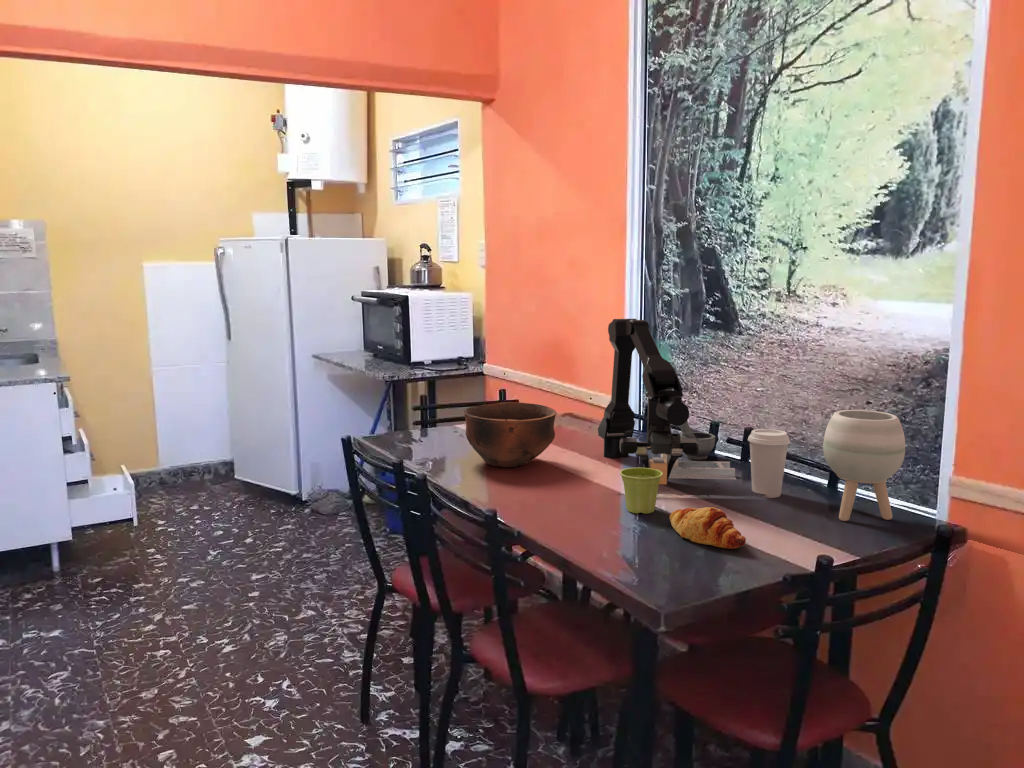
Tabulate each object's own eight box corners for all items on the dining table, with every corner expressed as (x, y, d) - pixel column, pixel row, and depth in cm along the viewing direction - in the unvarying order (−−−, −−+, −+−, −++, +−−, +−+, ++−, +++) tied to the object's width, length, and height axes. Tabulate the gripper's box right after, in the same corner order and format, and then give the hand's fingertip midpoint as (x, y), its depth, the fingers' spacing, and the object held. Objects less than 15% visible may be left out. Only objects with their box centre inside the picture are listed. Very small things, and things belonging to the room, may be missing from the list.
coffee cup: (792, 492, 194) (795, 431, 192) (780, 502, 187) (783, 438, 184) (752, 486, 200) (755, 426, 197) (739, 495, 192) (742, 433, 190)
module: (650, 487, 199) (650, 460, 198) (648, 482, 203) (649, 456, 202) (666, 487, 199) (667, 461, 198) (664, 483, 203) (665, 457, 202)
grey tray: (647, 480, 205) (648, 469, 204) (643, 468, 217) (643, 458, 216) (736, 482, 203) (736, 471, 203) (727, 470, 215) (727, 459, 215)
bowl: (498, 480, 205) (498, 422, 203) (447, 461, 225) (446, 407, 223) (574, 466, 220) (574, 411, 217) (519, 449, 239) (519, 398, 237)
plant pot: (610, 509, 181) (610, 471, 180) (638, 501, 187) (639, 465, 186) (642, 519, 174) (643, 480, 173) (670, 511, 180) (671, 473, 179)
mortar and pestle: (700, 454, 233) (702, 413, 231) (721, 461, 224) (723, 419, 223) (667, 457, 229) (668, 416, 227) (687, 465, 220) (688, 422, 218)
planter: (829, 526, 169) (835, 421, 166) (811, 503, 185) (817, 407, 182) (911, 529, 167) (919, 423, 164) (886, 506, 183) (893, 409, 180)
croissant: (660, 541, 171) (646, 511, 168) (692, 513, 175) (679, 483, 172) (733, 572, 153) (719, 539, 150) (768, 540, 156) (755, 507, 154)
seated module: (662, 473, 208) (662, 448, 207) (660, 469, 212) (661, 445, 211) (677, 474, 208) (678, 448, 207) (675, 470, 212) (676, 445, 211)
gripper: (623, 424, 191) (621, 488, 193) (703, 425, 190) (701, 489, 192) (620, 415, 202) (618, 476, 204) (696, 416, 201) (693, 477, 203)
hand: (657, 480), depth 201 cm, fingers closed on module, 4 cm apart
